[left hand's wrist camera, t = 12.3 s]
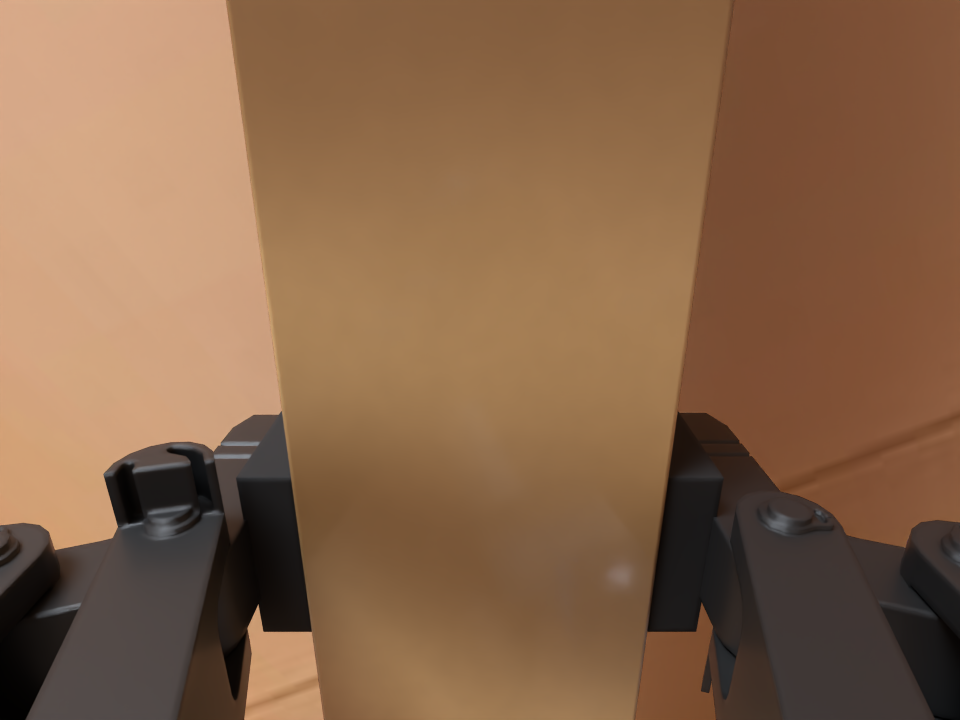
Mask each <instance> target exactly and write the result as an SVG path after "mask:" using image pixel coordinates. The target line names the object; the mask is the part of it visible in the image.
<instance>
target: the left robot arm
mask: <svg viewBox="0 0 960 720" xmlns="http://www.w3.org/2000/svg"><path fill="white" fill-rule="evenodd" d="M104 478H105V482H106V485H107V489H108V492H109V496H110V500H111V503H112V507H113V510H114V514H115V518H116V521H117V525H118V528H117V531H116V533H115V535H114V537H113V538H112V539H108V540H104V541H99V542H94V543H89V544H84V545H79V546H74V547H69V548H64V549H59V550H55V549H54V546H53V543H52V540H51V537H50V534H49V532H48V531H47V530H45V529H44V528H43V527H41V526H40V525H35V524H27V523H19V524H10V525H0V720H244V715H245V707H246V698H247V689H248V681H249V672H250V663H251V655H252V653H251V646H250V640H249V635H248V630H247V628H248V625H249V623H250V621H251V619H252V617H253V615H254V612H255V610H256V608H257V606H258V604H259V609H260V615H261V620H262V626H263V631H264V632H312V628H311V621H310V614H309V606H308V599H307V592H306V584H305V577H304V570H303V562H302V555H301V548H300V540H299V533H298V526H297V518H296V511H295V504H294V496H293V489H292V482H291V474H290V467H289V460H288V452H287V445H286V437H285V430H284V423H283V415H282V411H281V413H280V414H279V415H253V416H251V417H250V418H248V419H247V420H245V421H243V422H242V423H240V424H238V425H237V426H235V427H233V428H232V430H231V431H230V432H229V433H228V435H227V436H226V437H225V438H224V440H223V441H222V442H221V446H218V447H217V448H216V449H215V451H214V452H213V451H212V450H211V449H209V448H208V447H207V446H205V445H202V444H198V443H193V442H170V443H165V444H160V445H155V446H150V447H147V448H145V449H142V450H139V451H136V452H134V453H131V454H129V455H127V456H125V457H124V458H122V459H120V460H119V461H117V462H115V463H114V464H113V465H112V466H111V467H110V468H109V469H108V470H107V471H106V472H105V473H104ZM701 602H702V604H703V606H704V608H705V610H706V612H707V614H708V617H709V619H710V621H711V623H712V625H713V630H712V635H711V640H710V645H709V650H708V655H707V661H706V666H705V671H704V676H703V682H702V688H701V691H702V692H707V693H709V691H710V686H711V681H712V688H713V697H714V705H715V714H716V720H960V522H948V521H940V520H935V521H928V522H921V523H919V524H918V525H917V526H915V527H914V528H913V529H912V530H911V533H910V536H909V539H908V542H907V545H906V548H905V547H900V546H894V545H889V544H884V543H879V542H874V541H869V540H864V539H859V538H855V537H851V536H847V535H846V534H845V532H844V529H843V527H842V526H841V524H840V523H839V522H838V521H837V519H836V518H835V517H834V516H833V515H832V514H831V513H830V512H828V511H827V510H825V509H824V508H822V507H821V506H819V505H818V504H816V503H814V502H811V501H809V500H807V499H804V498H802V497H800V496H796V495H792V494H788V493H783V492H780V490H779V489H778V488H777V487H776V486H775V484H774V483H773V482H772V481H771V479H770V478H769V477H768V476H767V474H766V473H765V472H764V471H763V469H762V468H761V467H760V466H759V465H758V463H757V462H756V461H755V460H754V458H753V457H752V456H749V452H748V451H747V450H746V449H745V447H744V446H743V445H742V444H739V440H738V439H737V437H736V436H735V435H734V434H733V432H732V431H731V430H730V429H729V428H728V426H727V425H725V424H723V423H722V422H720V421H718V420H717V419H715V418H713V417H712V416H710V415H708V414H707V413H679V412H678V413H677V420H676V427H675V434H674V441H673V449H672V456H671V463H670V470H669V478H668V485H667V492H666V499H665V507H664V514H663V521H662V528H661V535H660V543H659V550H658V557H657V564H656V572H655V579H654V586H653V593H652V601H651V608H650V615H649V622H648V629H647V632H696V629H697V624H698V618H699V613H700V607H701Z"/></svg>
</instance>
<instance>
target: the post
mask: <svg viewBox="0 0 960 720" xmlns="http://www.w3.org/2000/svg"><path fill="white" fill-rule="evenodd" d="M226 4H227V12H228V19H229V26H230V34H231V41H232V48H233V56H234V63H235V70H236V78H237V85H238V92H239V100H240V107H241V114H242V122H243V129H244V136H245V144H246V151H247V159H248V166H249V173H250V181H251V188H252V195H253V203H254V210H255V217H256V225H257V232H258V239H259V247H260V254H261V261H262V269H263V276H264V283H265V291H266V298H267V305H268V313H269V320H270V327H271V335H272V342H273V349H274V357H275V364H276V371H277V379H278V386H279V393H280V401H281V408H282V415H283V423H284V430H285V437H286V445H287V452H288V460H289V467H290V474H291V482H292V489H293V496H294V504H295V511H296V518H297V526H298V533H299V540H300V548H301V555H302V562H303V570H304V577H305V584H306V592H307V599H308V606H309V614H310V621H311V628H312V636H313V643H314V650H315V658H316V665H317V672H318V680H319V687H320V694H321V702H322V709H323V716H324V720H635V716H636V709H637V702H638V695H639V687H640V680H641V673H642V666H643V658H644V651H645V644H646V637H647V629H648V622H649V615H650V608H651V601H652V593H653V586H654V579H655V572H656V564H657V557H658V550H659V543H660V535H661V528H662V521H663V514H664V507H665V499H666V492H667V485H668V478H669V470H670V463H671V456H672V449H673V441H674V434H675V427H676V420H677V413H678V405H679V398H680V391H681V384H682V376H683V369H684V362H685V355H686V347H687V340H688V333H689V326H690V318H691V311H692V304H693V297H694V290H695V282H696V275H697V268H698V261H699V253H700V246H701V239H702V232H703V224H704V217H705V210H706V203H707V196H708V188H709V181H710V174H711V167H712V159H713V152H714V145H715V138H716V130H717V123H718V116H719V109H720V102H721V94H722V87H723V80H724V73H725V65H726V58H727V51H728V44H729V36H730V29H731V22H732V15H733V7H734V0H226Z"/></svg>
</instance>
